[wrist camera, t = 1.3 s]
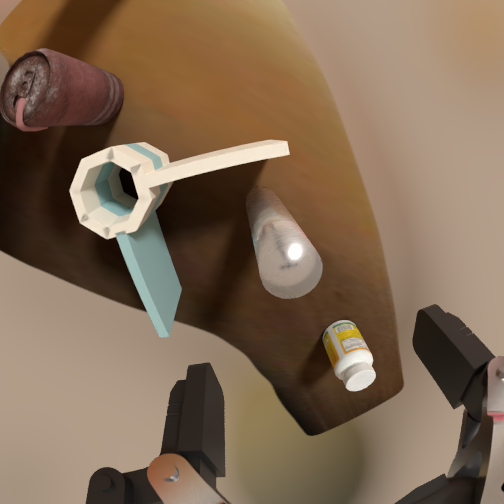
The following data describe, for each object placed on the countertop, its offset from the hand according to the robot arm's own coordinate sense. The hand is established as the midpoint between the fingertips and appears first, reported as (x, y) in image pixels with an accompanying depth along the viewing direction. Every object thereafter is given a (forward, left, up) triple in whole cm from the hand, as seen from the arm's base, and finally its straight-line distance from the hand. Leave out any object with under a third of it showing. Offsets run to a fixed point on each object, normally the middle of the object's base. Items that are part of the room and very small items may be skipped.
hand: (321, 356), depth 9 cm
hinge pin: (0, 0, -23) cm, 23 cm away
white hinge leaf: (-6, -6, -22) cm, 24 cm away
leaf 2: (-1, -12, -22) cm, 25 cm away
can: (-16, -14, -23) cm, 31 cm away
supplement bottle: (+21, +8, -23) cm, 32 cm away
